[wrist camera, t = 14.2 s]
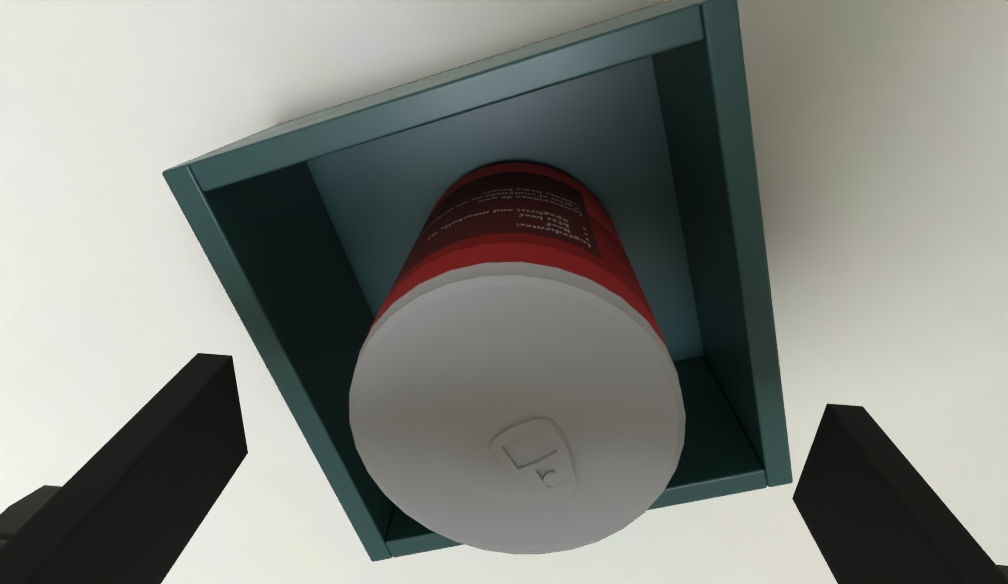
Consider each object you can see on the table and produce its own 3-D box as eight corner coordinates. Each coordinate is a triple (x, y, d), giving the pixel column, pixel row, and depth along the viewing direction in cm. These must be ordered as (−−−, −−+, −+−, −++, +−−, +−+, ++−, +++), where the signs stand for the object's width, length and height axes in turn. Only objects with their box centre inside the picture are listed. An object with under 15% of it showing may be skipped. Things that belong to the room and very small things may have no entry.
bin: (663, 1, 20) (736, -10, 13) (722, 359, 25) (793, 483, 19) (274, 125, 22) (159, 172, 15) (410, 429, 27) (371, 562, 21)
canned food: (527, 373, 25) (527, 601, 15) (382, 256, 23) (274, 432, 13) (661, 255, 23) (765, 436, 13) (512, 111, 21) (500, 194, 11)
